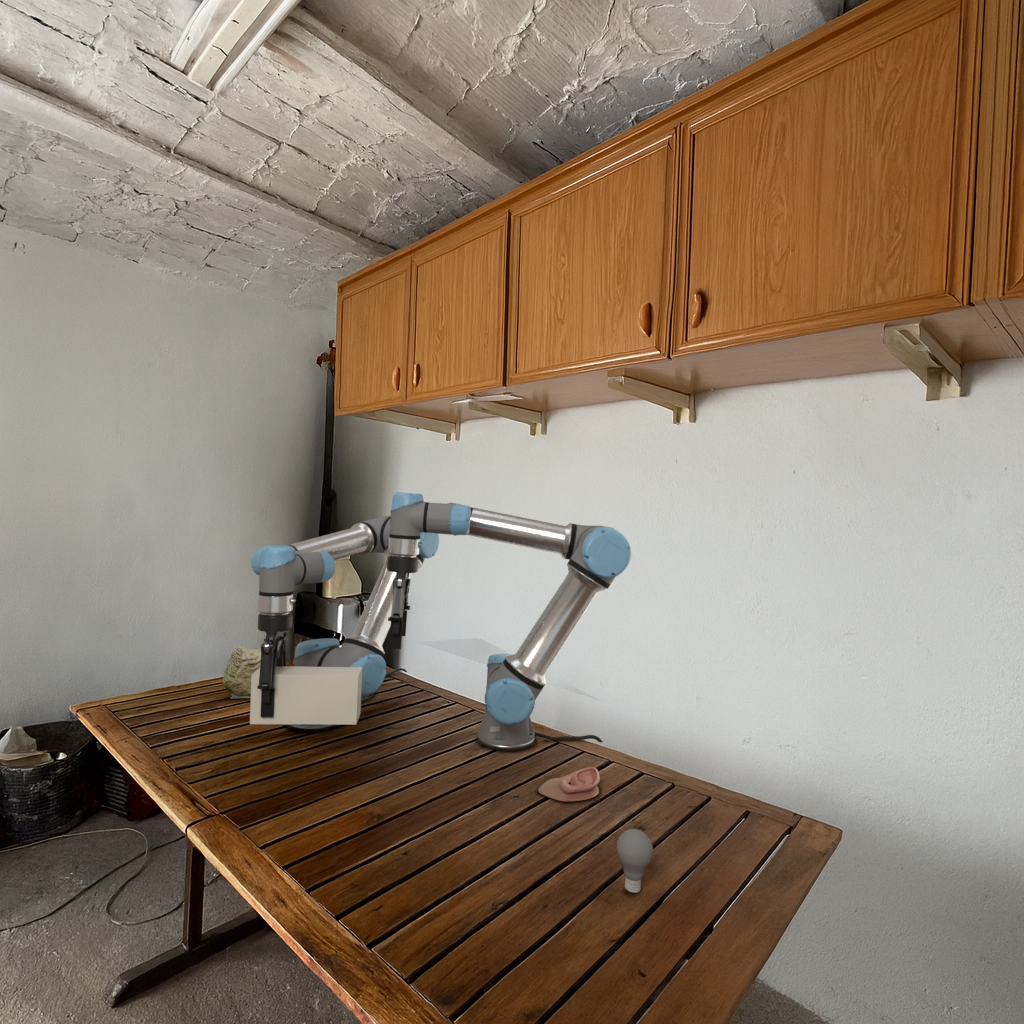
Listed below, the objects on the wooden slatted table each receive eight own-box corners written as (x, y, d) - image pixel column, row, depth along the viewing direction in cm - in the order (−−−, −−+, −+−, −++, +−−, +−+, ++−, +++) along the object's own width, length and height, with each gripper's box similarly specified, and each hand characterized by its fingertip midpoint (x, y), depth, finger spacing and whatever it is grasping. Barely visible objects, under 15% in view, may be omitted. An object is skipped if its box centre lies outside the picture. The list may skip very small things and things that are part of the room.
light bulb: (610, 879, 108) (613, 822, 108) (644, 879, 109) (647, 822, 109) (619, 902, 102) (622, 840, 102) (655, 901, 103) (658, 840, 103)
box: (249, 724, 143) (251, 674, 143) (259, 713, 151) (260, 665, 150) (356, 724, 146) (358, 676, 146) (360, 713, 153) (362, 667, 153)
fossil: (218, 695, 195) (220, 647, 195) (278, 685, 208) (279, 640, 207) (228, 703, 189) (230, 653, 188) (289, 692, 201) (290, 645, 201)
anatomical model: (536, 779, 137) (544, 758, 148) (535, 797, 137) (543, 775, 148) (598, 787, 134) (601, 766, 146) (597, 806, 134) (600, 783, 146)
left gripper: (281, 621, 137) (277, 726, 138) (301, 605, 157) (298, 696, 158) (245, 620, 136) (241, 726, 137) (270, 604, 157) (267, 696, 157)
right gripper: (415, 561, 143) (409, 655, 143) (421, 552, 168) (416, 631, 168) (382, 559, 142) (375, 653, 142) (393, 550, 167) (387, 630, 167)
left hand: (272, 710), depth 147 cm, fingers closed on box, 7 cm apart
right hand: (397, 642), depth 155 cm, fingers open, 13 cm apart
